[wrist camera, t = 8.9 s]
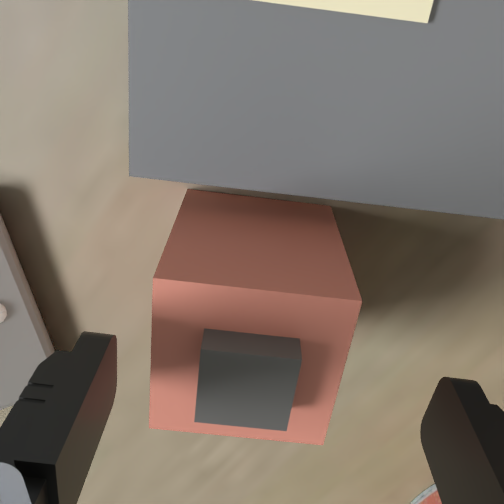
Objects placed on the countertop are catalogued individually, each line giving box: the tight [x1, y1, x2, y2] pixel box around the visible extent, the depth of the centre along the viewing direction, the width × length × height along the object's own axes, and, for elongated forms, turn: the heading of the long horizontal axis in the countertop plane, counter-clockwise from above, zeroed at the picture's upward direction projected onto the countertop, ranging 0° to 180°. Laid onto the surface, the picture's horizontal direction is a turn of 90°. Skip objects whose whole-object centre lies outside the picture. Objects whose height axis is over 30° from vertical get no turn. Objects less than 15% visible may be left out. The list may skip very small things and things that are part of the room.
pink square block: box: [149, 189, 362, 445], centre depth 15 cm, size 5×5×7 cm
